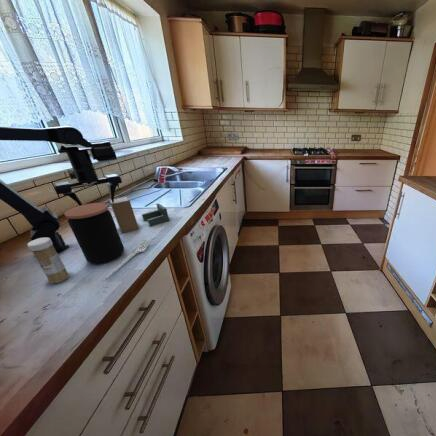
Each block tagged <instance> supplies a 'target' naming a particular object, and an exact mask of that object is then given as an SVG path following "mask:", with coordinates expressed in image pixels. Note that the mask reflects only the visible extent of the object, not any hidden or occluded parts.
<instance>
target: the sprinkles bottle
mask: <svg viewBox="0 0 436 436" xmlns="http://www.w3.org/2000/svg"><path fill="white" fill-rule="evenodd" d="M52 244H53V243H52V241H51V239H50V238H47V237H45V238H39V239H35V240H33V241H29V242H28V243H27V245H26V246H27V248H28V250H29V251H30V252H32V254H33V255H34V257H35V259H36V261H37V263H38V265H39V267H40V268H41V270H42V272H43V274H44V275H45V276H46V278H47V280H48V283H50V284H59V283H61V282H64V281H65V280H67V279H68V278H69V277H70V273H69V272H68V271H67V269H66V268H65V267H66V266H65V265H64V263H63V261H62V259H61V257H60V255H59V253H57V252H56V250H55V248H54V246H53V245H52Z"/></svg>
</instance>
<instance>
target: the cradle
mask: <svg viewBox="0 0 436 436" xmlns="http://www.w3.org/2000/svg"><path fill="white" fill-rule="evenodd" d="M155 205H156V209H155V210H152V211H148V212H145V213H142V214H141V217H142V219H143V221H147V223H148V226H149V227H153V226H156V225H159V224H163V223H165V222H168V221H170V217H169V213H168V210H167V207H165V206H164V205H162V204H160V203H159V202H158V203H155Z"/></svg>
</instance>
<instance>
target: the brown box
mask: <svg viewBox="0 0 436 436" xmlns="http://www.w3.org/2000/svg"><path fill="white" fill-rule="evenodd" d="M108 201H109V205H110V207H111V209H112V212H113V215H114V217H115V220H116V223H117V226H118V228H119V230H120V232H121V234H124V233H128V232H131V231H135V230H139V229H140V228H139V224H138V221H137V218H136V215H135V213H134V209H133V206H132V203H131V200H130V199H129V198H128V197H127V196H123V197H117V198H114V202H112V200H111V199H108Z"/></svg>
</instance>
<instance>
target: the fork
mask: <svg viewBox="0 0 436 436" xmlns="http://www.w3.org/2000/svg"><path fill="white" fill-rule="evenodd" d="M149 245H150V239H147V240H146V239H143V240H142V242H141V243H140V244H139V246H138V247H137V248H136V249H134V251H132V252H131V253H130V254H129V255H128V256H127V257H126V258H125V259H124V260H122V261H121V262H120V263H119V264H118V265H117V266H115V268H113V269H112V270H111V271H110V272H109V273H107V274H106V276H105V277H104V279H109V278H110V277H111V276H113V275H114V274H115V273H116V272H117V271H118V270H119V269H120V268H122V267H123V266H124V265H125V264H127V262H128V261H130V260H131V259H132V258H133V257H134V256H135V255H137V254H138V253H143V252H146V250H147V249H148V248H149Z"/></svg>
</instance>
